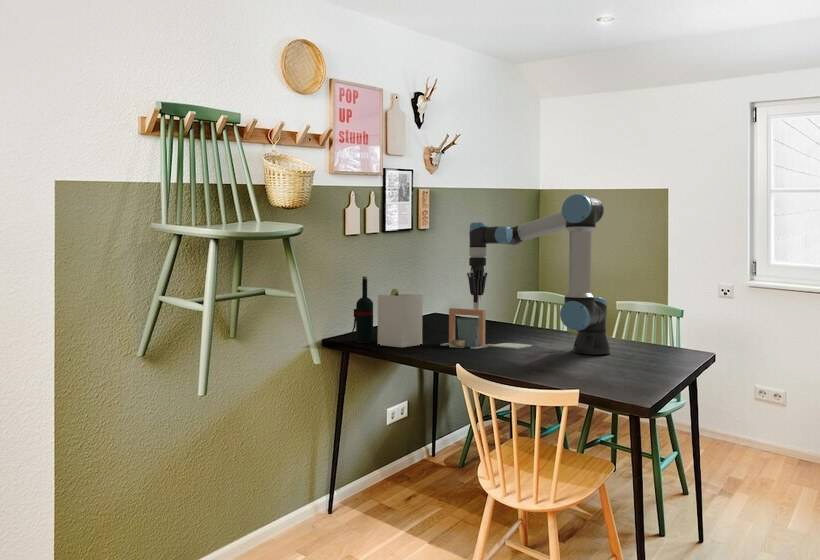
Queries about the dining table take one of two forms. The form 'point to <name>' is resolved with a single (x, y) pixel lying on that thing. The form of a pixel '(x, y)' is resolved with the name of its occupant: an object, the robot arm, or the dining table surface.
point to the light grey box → (400, 320)
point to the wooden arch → (467, 312)
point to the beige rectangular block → (457, 343)
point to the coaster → (511, 345)
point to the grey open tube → (468, 330)
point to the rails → (471, 347)
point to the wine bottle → (364, 316)
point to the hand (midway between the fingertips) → (476, 309)
